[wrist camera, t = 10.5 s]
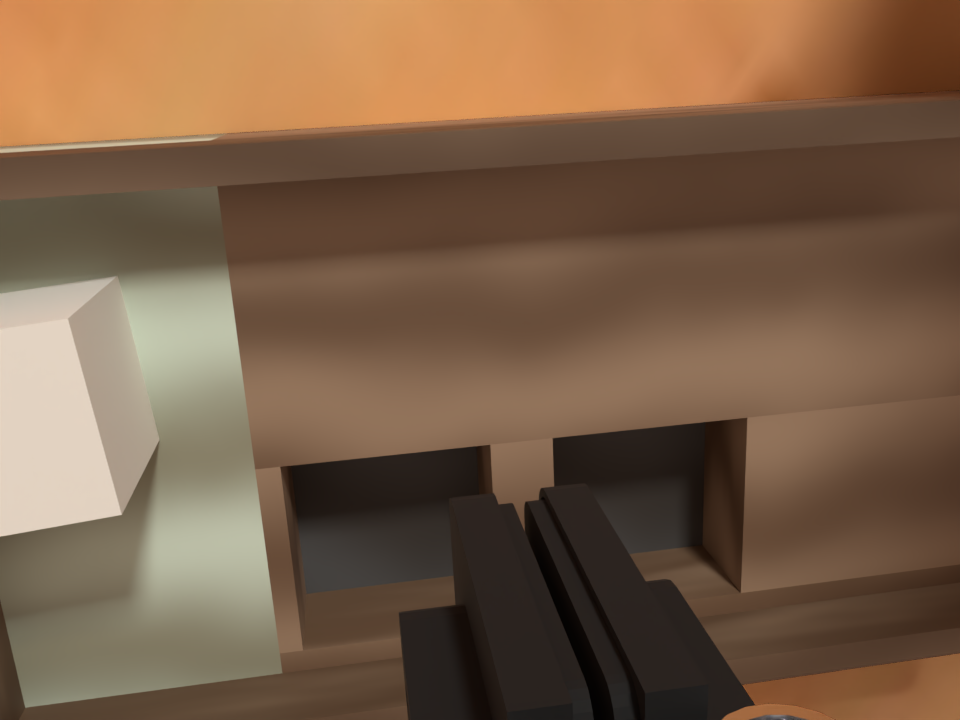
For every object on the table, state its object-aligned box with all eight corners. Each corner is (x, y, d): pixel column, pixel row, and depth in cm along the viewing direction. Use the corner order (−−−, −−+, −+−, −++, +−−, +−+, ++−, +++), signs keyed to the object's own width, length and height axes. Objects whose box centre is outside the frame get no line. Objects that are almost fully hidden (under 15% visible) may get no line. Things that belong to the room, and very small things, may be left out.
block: (-70, 304, 25) (-164, 354, 20) (117, 275, 25) (67, 318, 21) (-16, 469, 26) (-93, 553, 22) (159, 439, 27) (121, 514, 22)
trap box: (-78, 151, 27) (-198, 170, 21) (1012, 87, 32) (1172, 87, 26) (37, 663, 33) (-32, 796, 27) (959, 545, 37) (1082, 635, 31)
